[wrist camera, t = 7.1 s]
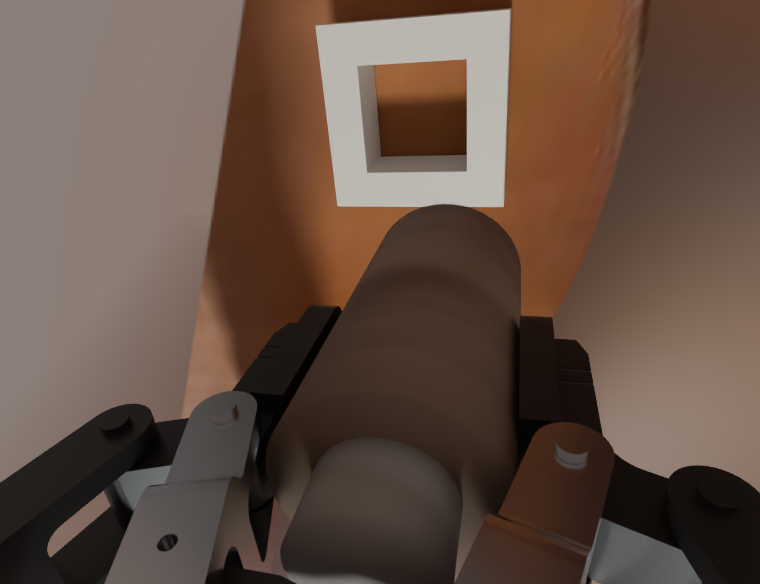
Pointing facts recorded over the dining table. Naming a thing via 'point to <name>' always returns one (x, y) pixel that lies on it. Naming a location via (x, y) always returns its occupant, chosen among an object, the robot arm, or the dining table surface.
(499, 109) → the holder
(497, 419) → the pepper mill
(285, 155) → the dining table surface
